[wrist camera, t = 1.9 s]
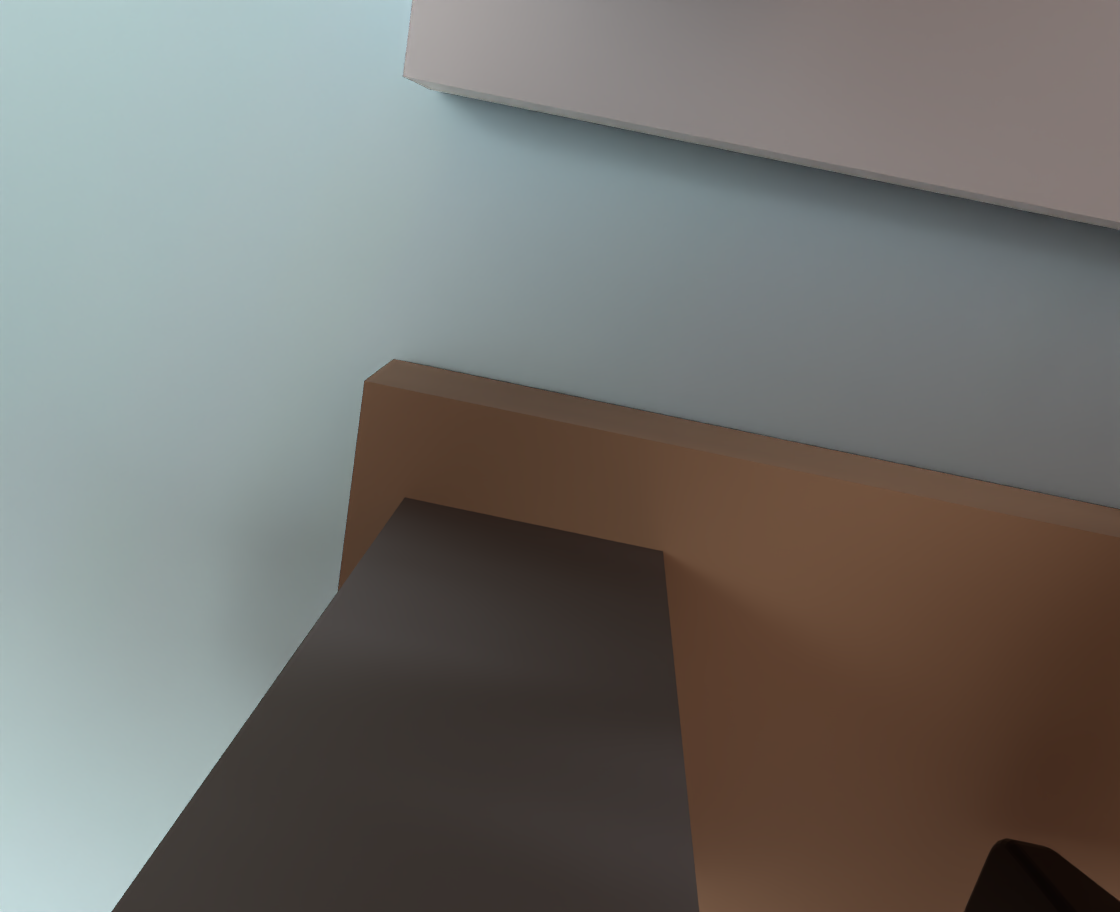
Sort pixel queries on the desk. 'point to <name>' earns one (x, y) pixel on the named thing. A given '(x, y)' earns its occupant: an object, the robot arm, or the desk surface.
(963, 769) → the walnut strip
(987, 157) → the grey strip
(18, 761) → the desk surface
